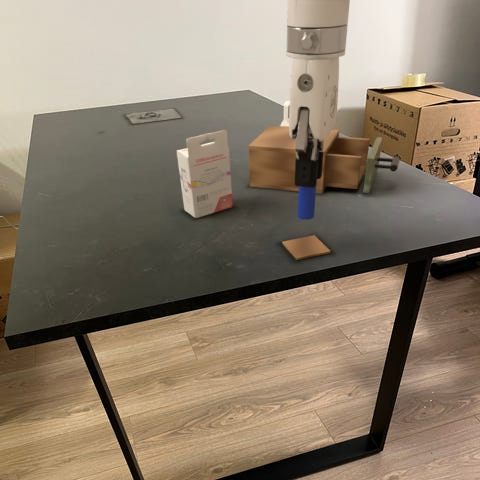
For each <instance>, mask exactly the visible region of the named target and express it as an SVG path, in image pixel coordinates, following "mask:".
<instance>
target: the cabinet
mask: <svg viewBox="0 0 480 480" xmlns="http://www.w3.org/2000/svg"><path fill="white" fill-rule="evenodd" d="M309 137H310V135H309ZM336 137H340V129H336V128H333V129H332V131H331V132H330V134H329V135H328V136H327V138H326V139H325V140H324V146H323V151H319V152H323V165H322V177H321V178H320V179H317V185H316V194H320V195H322V194H324V192H325V190H326V188H327V186H324V172H325V157H326V153H327V151H328V150H329V148H330V147H331V145H332V144H333V142H334V140H335V139H336ZM296 139H297V137H296V138H295V139H292V138H291V137H290V135H289V127H287V126H280V125H269V126H267V128H266V129H265V130H264V131H263V132H262V133H260V134H259V135H258V136H257V137H256V138H255V139H254V140H253V141H252V142H251V143H250V144H248V165H249V166H248V167H249V168H248V170H249V187H250V188H261V189H268V190H269V189H270V190H279V191H288V192H289V191H291V192H299V186H296V185H295V161H296V150H295V146H296Z"/></svg>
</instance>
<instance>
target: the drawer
mask: <svg viewBox="0 0 480 480" xmlns="http://www.w3.org/2000/svg"><path fill="white" fill-rule="evenodd" d="M370 140H371V138H364V137H351V136H350V137H348V136H339V137H336V139H335V140H334V142H333V144H332V145H331V147H330V148H329V150H328V151H327V153H326V157H325V172H324V186H326V187H332V188H342V189H353V190H358V188H359V186H360V184H361V181H362V180H363V177H364V183H363V190H362V192H363V193H364V194H370V193H371V191H372V187H373V184H374V183H375V182H374V181H375V179H376V176H377V174H378V171H379V169H385V170H390V171H391V172H393V173H394V172H397V170H398V167H399V165H400V157H399V156H398V155H397V156H394V157H392V158H391V157H381V152H382V145H383V137H379V136H377V137H376V138H375V140H374V143H373V144H372V147H371V150H370V152H369V148H370ZM380 162H386V163H391V164H384V163H383V164H381V163H380ZM364 175H365V176H364Z"/></svg>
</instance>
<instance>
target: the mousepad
mask: <svg viewBox="0 0 480 480" xmlns="http://www.w3.org/2000/svg"><path fill="white" fill-rule="evenodd" d="M125 116H126V118H127V120H129V121H130V123H131V124H132V125H136V124H143V123H151V122H160V121H168V120H174V119H182V116H181V115H180V114H179V113H178V112H177V111H176V110H175V108H173V107H172V108H163V109H154V110H148V111H147V110H146V111H140V112H139V111H138V112H132V113H125Z"/></svg>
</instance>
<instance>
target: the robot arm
mask: <svg viewBox="0 0 480 480" xmlns="http://www.w3.org/2000/svg"><path fill="white" fill-rule="evenodd" d="M350 3H351V0H287V4H286V5H287V10H286V11H287V13H286V15H287V17H286V51H285V52H286V57H288V58H291V59H292V65H291V75H290V88H289V91H290V92H289V100H290V106H289V135H290V137H291V138H292V139H295V138H296V137H297V139H296V146H295V150H296V161H295V185H296V186H301V187H311V188H314V187H315V186H316V185H317V179H320V178H321V177H322V165H323V152H319V157H318V160H316V154H317V148H318V149H319V151H323V146H324V140H325V139H326V138H327V136H328V135H329V134H330V132H331V131H332V129H335V126H336V124H337V119H338V102H339V101H338V99H339V83H340V82H339V80H340V78H339V77H340V57H343V56H345V55H346V47H347V37H348V23H349V14H350ZM309 135H310V137H309ZM311 146H312V148H311Z"/></svg>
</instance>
